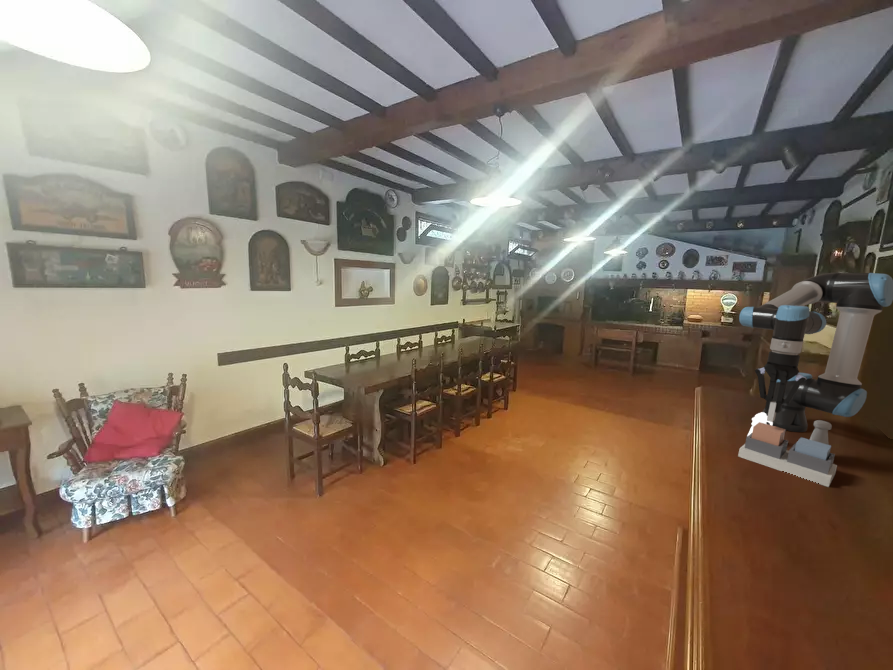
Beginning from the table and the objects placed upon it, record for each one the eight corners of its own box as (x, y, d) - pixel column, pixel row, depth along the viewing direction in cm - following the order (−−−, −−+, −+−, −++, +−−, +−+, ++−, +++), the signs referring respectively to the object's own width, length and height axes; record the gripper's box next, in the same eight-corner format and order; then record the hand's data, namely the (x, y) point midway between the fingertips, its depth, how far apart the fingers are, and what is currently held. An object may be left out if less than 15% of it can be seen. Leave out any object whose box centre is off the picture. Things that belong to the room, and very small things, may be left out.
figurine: (752, 437, 142) (757, 408, 140) (774, 445, 136) (780, 414, 134) (742, 440, 139) (747, 410, 137) (764, 448, 133) (770, 417, 131)
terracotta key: (756, 435, 129) (759, 422, 128) (782, 443, 124) (785, 429, 123) (750, 440, 125) (753, 426, 124) (777, 448, 120) (780, 434, 119)
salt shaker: (832, 461, 125) (840, 425, 122) (812, 459, 126) (820, 423, 124) (818, 453, 130) (826, 419, 128) (800, 451, 131) (807, 417, 129)
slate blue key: (797, 451, 121) (801, 437, 120) (827, 460, 115) (831, 445, 115) (793, 457, 117) (796, 442, 116) (824, 466, 111) (827, 451, 110)
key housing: (749, 446, 134) (752, 428, 132) (835, 473, 116) (840, 453, 115) (738, 456, 126) (741, 437, 125) (828, 487, 109) (833, 465, 107)
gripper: (756, 349, 122) (743, 416, 126) (809, 357, 112) (794, 429, 116) (762, 347, 126) (749, 412, 130) (814, 355, 116) (799, 424, 120)
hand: (770, 420), depth 123 cm, fingers closed
